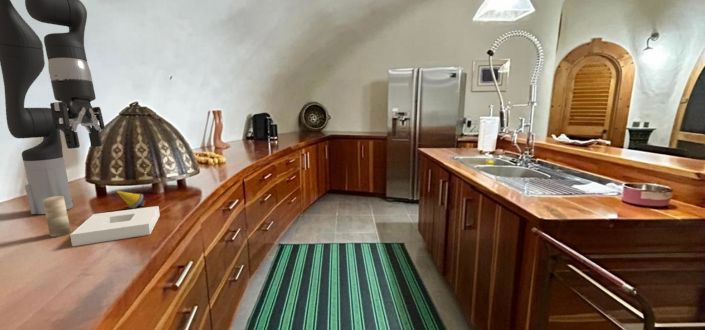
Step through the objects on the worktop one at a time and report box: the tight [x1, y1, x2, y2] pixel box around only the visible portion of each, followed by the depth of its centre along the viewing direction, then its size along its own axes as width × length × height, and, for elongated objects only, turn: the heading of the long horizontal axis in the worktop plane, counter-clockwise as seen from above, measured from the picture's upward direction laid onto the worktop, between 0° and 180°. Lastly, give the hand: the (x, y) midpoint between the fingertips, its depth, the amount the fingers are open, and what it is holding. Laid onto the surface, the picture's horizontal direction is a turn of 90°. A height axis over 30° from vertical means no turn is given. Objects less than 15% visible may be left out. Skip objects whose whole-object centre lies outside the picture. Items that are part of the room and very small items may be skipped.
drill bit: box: [115, 190, 146, 210], centre depth 102 cm, size 5×5×10 cm
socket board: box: [69, 205, 161, 247], centre depth 84 cm, size 16×16×3 cm
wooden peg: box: [43, 196, 72, 238], centre depth 81 cm, size 4×4×10 cm
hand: (85, 147), depth 76 cm, fingers open, 8 cm apart
